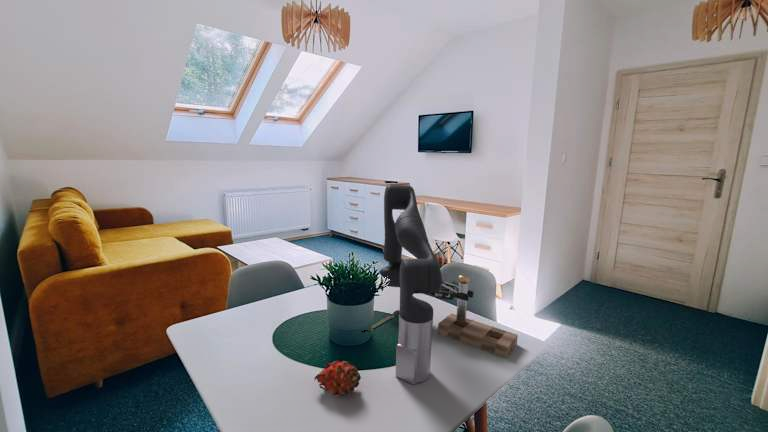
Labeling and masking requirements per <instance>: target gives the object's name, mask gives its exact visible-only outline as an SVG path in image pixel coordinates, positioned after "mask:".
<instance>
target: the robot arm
mask: <svg viewBox="0 0 768 432" xmlns="http://www.w3.org/2000/svg"><path fill="white" fill-rule="evenodd" d="M383 194H384V195H383V211H384V212H383V215H384V216H383V220H384V222H383V223H384V244H383V245H384V246H383V256H382V257H383V259H384V260H385V262H387V263H388V265H386V266H384V267H382V268H380V270H379V271H378V272H380V274H381V275H382V276H383V277H384V278H385V277H387V276H388V277H387V278H388V279H390V280H391V281H390V283H389V284H388V285H387V287H391V288H399V311H400V312H399V315H398V340H397V341H398V343H397V344H396V353H395V354H396V355H395V357H396V358H395V359H396V360H395V377H397V378H399V379H401V380H403V381H405V382H407V383H409V384H411V385H416V384H418V383H423V382H426V381H427V380H428V379H429V378H430V375H431V364H432V363H431V360H432V359H431V358H432V341H433V325H434V324H433V323H434V308H433V306H432V305H431V304H430V303H429V302H427V301H425V300H424V299H420V298H417V297H415V296H414V295H415V294H416V295H417V294H423V295H425V296H429V297H433V298H436V299H440V300H449V301H454V300H458V299H461V300H465V301H467V302H468V301H469V300H470V299H469V298H473V297H474V290H470V289H468V294H465V293H462V292H458V286H459V282H457V281H456V280H455V281H453V280H452V281H451V283H450V282H447V281H443V277H442V276H443V275H442V271H441V267H440V264H439V262H438V260H437V257H436V254H435V252H434V251H433V249H432V246H431V244H430V242H429V239H428V236H427V232H426V228H425V225H424V222H423V220H422V217H421V214H420V211H419V209H418V208H419V207H418V202H417V198H416V193H415V189H414V187H413V186H411V185H407V184H394V183H392V184H387V185H386V187H385V189H384V193H383ZM393 210H395V211H396V210H400V211H402V210H403V211H402V212H401V213H400V214H399V215H398V216H397V218H396V219H394V216H393ZM403 249H405V250H406V251H407V252H408V253H409V254H411V255H412V256H413V257H414V258H406V259H405V258H404V259H402V255H403V254H402V253H403Z"/></svg>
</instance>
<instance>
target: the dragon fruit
mask: <svg viewBox="0 0 768 432" xmlns="http://www.w3.org/2000/svg"><path fill="white" fill-rule="evenodd" d="M361 378H362V377H361V374H360V373H359V370H358V368H357V367H355V366H354V365H353V364H352V365H351V362H348V361H345V360H341V361H340V360H335V361H334V360H333V362H330V363H327V364H326V366H325V368H324V369H322V370H321V371H320V372H319V373H318V374H317V375H315V377H314V381H316V380H317V382H318V386H319V388H320V389H322V390H323V392H324V394H326V393H328V392H329V391H333V396H334V397H338V396H340V395H341V394H342V395H345V394H348V393H349V392H354V391H355V388H358V387H359V385H360V380H361Z"/></svg>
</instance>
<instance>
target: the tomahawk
mask: <svg viewBox="0 0 768 432" xmlns="http://www.w3.org/2000/svg"><path fill="white" fill-rule="evenodd" d="M399 312H400V309H397V310H395V311H393V312H392V313H391V314H390V315H388V316H386V317H385V318H383V319H381V320H380V321H378V322H376V323H375V324H373V325H372V326H371V327H372V328H371V332H370V334H371V333H372V334H375V332H374V331H375V330H374V329H376V328H377V327H379V326H381V325H383V324H384V323H387V322H388V321H390V320H391V319H393V318H395V317H397V315H398V314H399Z"/></svg>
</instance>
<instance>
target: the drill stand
mask: <svg viewBox="0 0 768 432" xmlns="http://www.w3.org/2000/svg"><path fill="white" fill-rule="evenodd" d="M456 315H457V314H454V313H450V314H449V315H447V316H445V318H443V319H442V320H441V321H439V322H438V324H437V333H438V334H441V335H444V336H446V337H449V338H452V339H454V340H457V341H460V342H463V343H466V344H468V345H471V346H473V347H476V348H479V349H482V350H485V351H487V352H490V353H492V354H495V355H499V356H501V357H504V358H506V359H508V357H509V356H510V354H511V353H512V352H513V350H514V349H515V348H516V346H517V345H518V337H519V336H518V334H517V333H513V332H511V331H507V330H504V329H501V328H498V327H495V326H492V325H489V324H486V323H483V322H479V321H475V320H473V319H470V318H467V317H466V321H465V322H458V321H457V320H456Z"/></svg>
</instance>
